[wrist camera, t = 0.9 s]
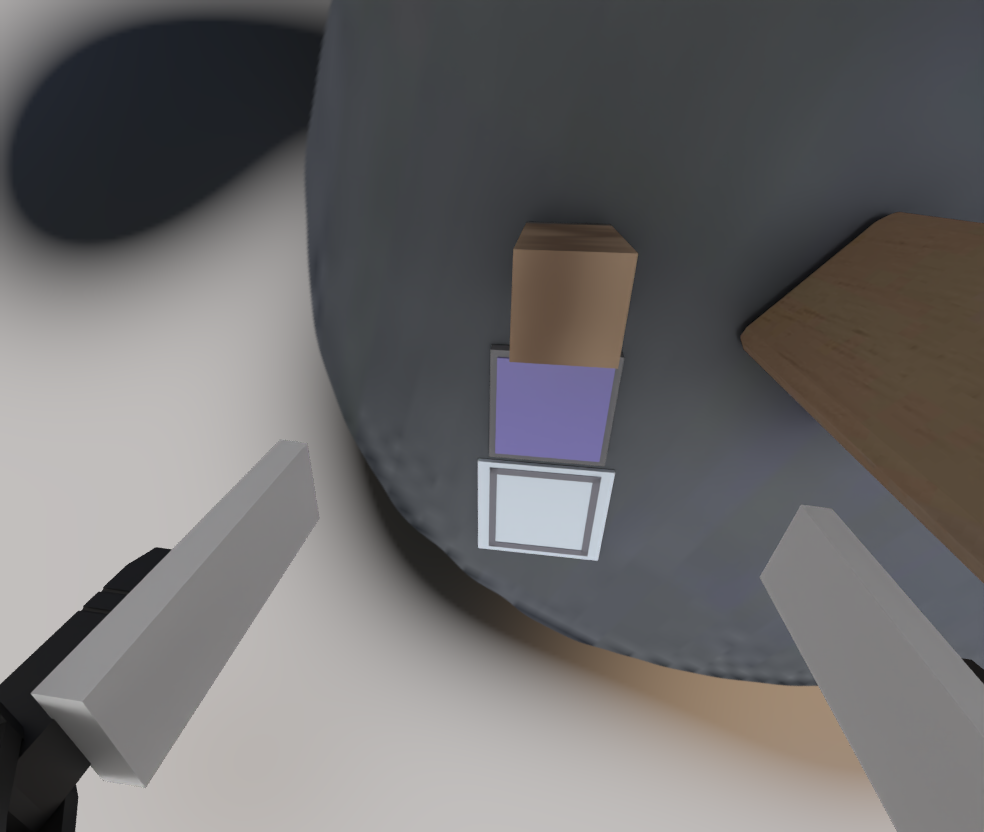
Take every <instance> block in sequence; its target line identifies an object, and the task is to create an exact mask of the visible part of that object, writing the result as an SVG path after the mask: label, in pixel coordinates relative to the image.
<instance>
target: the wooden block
mask: <svg viewBox="0 0 984 832" xmlns="http://www.w3.org/2000/svg"><path fill="white" fill-rule="evenodd" d="M740 337H741V342H742V345H743V349H744V350H745V351H746V352H747V353H748V354H749V355H750V356H751V357H752V358H753V359H754V360H755V361H756V362H757V363H758V364H759V365H760V366H761V367H762V368H763V369H764V370H765V371H766V372H767V373H768V374H769V375H770V376H771V377H772V378H773V379H774V380H775V381H776V382H777V383H779V384H780V385H781V386H782V387H783V388H784V389H785V390H786V391H787V392H788V393H789V394H790V395H791V396H792V397H793V398H794V399H795V400H796V401H797V402H798V403H799V404H800V405H801V406H802V407H803V408H804V409H805V410H806V411H807V412H808V413H809V414H810V415H811V416H812V417H813V418H814V419H815V420H816V421H817V422H818V423H819V424H820V425H821V426H822V427H823V428H824V429H826V430H827V431H828V432H829V433H830V434H831V435H832V436H833V437H834V438H835V439H836V440H837V441H838V442H839V443H840V444H841V445H842V446H843V447H844V448H845V449H846V450H847V451H848V452H849V453H850V454H851V455H852V456H853V457H854V458H855V459H856V460H857V461H858V462H859V463H860V464H861V465H863V466H864V467H865V468H866V469H867V470H868V471H869V472H870V473H871V474H872V475H873V476H874V477H875V478H876V479H877V480H878V481H879V482H880V483H881V484H882V485H883V486H884V487H885V488H886V489H887V490H888V491H889V492H890V493H891V494H892V495H893V496H894V497H895V498H896V499H897V500H898V501H899V502H901V503H902V504H903V505H904V506H905V507H906V508H907V509H908V510H909V511H910V512H911V513H912V514H913V515H914V516H915V517H916V518H917V519H918V520H919V521H920V522H921V523H922V524H923V525H924V526H925V527H926V528H927V529H928V530H929V531H930V532H931V533H932V534H933V535H934V536H935V537H936V538H938V539H939V540H940V541H941V542H942V543H943V544H944V545H945V546H946V547H947V548H948V549H949V550H950V551H951V552H952V553H953V554H954V555H955V556H956V557H957V558H958V559H959V560H960V561H961V562H962V563H963V564H964V565H965V566H966V567H967V568H968V569H969V570H970V571H971V572H972V573H973V574H975V575H976V576H977V577H978V578H979V579H980V580H981V581H982V582H983V583H984V223H977V222H970V221H962V220H955V219H947V218H940V217H932V216H925V215H918V214H910V213H903V212H896V213H893V214H890V215H888V216H886V217H884V218H882V219H880V220H878V221H876V222H875V223H873V224H872V225H871V226H870V227H869V228H867V229H866V230H865V231H864V232H862V233H861V234H860V235H859V236H858V237H856V238H855V239H854V240H853V241H851V242H850V243H849V244H848V245H846V246H845V247H844V248H843V249H842V250H840V251H839V252H838V253H837V254H835V255H834V256H833V257H832V258H831V259H829V260H828V261H827V262H826V263H824V264H823V265H822V266H821V267H820V268H818V269H817V270H816V271H815V272H813V273H812V274H811V275H810V276H809V277H807V278H806V279H805V280H804V281H802V282H801V283H800V284H799V285H798V286H796V287H795V288H794V289H793V290H791V291H790V292H789V293H788V294H787V295H785V296H784V297H783V298H782V299H780V300H779V301H778V302H777V303H776V304H774V305H773V306H772V307H771V308H769V309H768V310H767V311H766V312H765V313H763V314H762V315H761V316H760V317H758V318H757V319H756V320H755V321H754V322H752V323H751V324H750V325H749V326H747V327H746V329H745V330H744V331H743V333H742V334H741V336H740Z"/></svg>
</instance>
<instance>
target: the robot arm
mask: <svg viewBox="0 0 984 832" xmlns="http://www.w3.org/2000/svg"><path fill="white" fill-rule="evenodd" d="M318 520H319V512H318V506H317V500H316V494H315V487H314V481H313V475H312V469H311V462H310V456H309V450H308V443H304V442H295V441H288V440H279V441H278V442H277V443H276V444H275V445H274V446H273V447H272V448H271V449H270V450H269V452H267V453H266V455H265V456H264V457H263V458H262V459H261V460H260V461H259V462H258V463H257V464H256V465H255V466H254V467H253V468H252V469H251V470H250V471H249V472H248V473H247V474H246V475H245V476H244V477H243V478H242V479H241V480H240V481H239V482H238V483H237V484H236V485H235V486H234V487H233V488H232V489H231V490H230V491H229V492H228V493H227V494H226V495H225V496H224V497H223V498H222V499H221V500H220V501H219V502H218V503H217V504H216V506H214V507H213V508H212V509H211V510H210V511H209V512H208V513H207V514H206V516H205V517H204V518H203V519H202V520H201V521H200V522H199V523H198V524H197V525H196V526H195V527H194V528H193V529H192V530H191V531H190V532H189V533H188V534H187V535H186V536H185V537H184V538H183V539H182V540H181V541H180V542H179V543H178V544H177V545H176V546H175V547H174V548H173V549H164V548H154V549H152V550H151V551H150V552H147V553H146V554H145V555H143V556H141V557H139V558H138V559H136V560H134V561H133V562H131V563H129V564H128V565H126V566H125V567H124V568H123V569H122V570H121V571H120V572H119V573H118V574H117V575H116V576H115V577H114V578H113V579H112V580H110V581H109V582H108V583H107V584H106V585H105V586H104V587H103V590H102V592H98V593H97V594H96V595H95V596H93V597H92V598H91V599H90V600H89V601H88V602H87V603H86V604H85V605H84V606H83V610H81V611H78V612H76V614H74V615H73V616H72V617H71V618H70V619H69V620H68V621H67V622H66V623H65V624H64V625H63V626H62V627H61V628H60V629H59V630H57V631H56V632H55V633H54V634H53V635H52V636H51V637H50V638H49V639H48V640H47V641H46V642H45V643H44V644H43V645H42V646H40V647H39V648H38V649H37V650H36V651H35V652H34V653H33V654H32V655H31V656H30V657H29V658H28V659H27V660H26V661H25V662H23V664H21V665H20V666H19V667H18V668H17V669H16V670H15V671H14V672H13V673H12V674H11V675H10V676H9V677H8V678H7V679H5V680H4V681H3V682H2V683H1V684H0V832H75V827H76V826H75V825H76V816H77V805H78V793H77V788H76V783H77V782H78V781H79V779H80V778H81V776H82V775H83V774H84V773H85V771H86V770H87V769H88V767H89V766H91V767H92V768H93V769H94V770H95V772H96V773H97V774H98V775H99V776H100V778H101V779H102V780H103V781H107V782H113V783H119V784H125V785H131V786H137V787H143V788H146V787H147V785H148V783H149V782H150V780H151V779H152V777H153V776H154V774H155V773H156V771H157V770H158V768H159V766H160V765H161V763H162V762H163V760H164V759H165V757H166V756H167V754H168V752H169V751H170V749H171V748H172V746H173V745H174V743H175V742H176V740H177V738H178V737H179V735H180V734H181V732H182V731H183V729H184V728H185V726H186V725H187V723H188V721H189V720H190V718H191V717H192V715H193V714H194V712H195V711H196V709H197V708H198V706H199V704H200V703H201V701H202V700H203V698H204V697H205V695H206V694H207V692H208V690H209V689H210V687H211V686H212V684H213V683H214V681H215V679H216V678H217V677H218V675H219V673H220V672H221V670H222V669H223V667H224V666H225V664H226V662H227V661H228V659H229V658H230V656H231V655H232V653H233V652H234V650H235V649H236V647H237V646H238V644H239V642H240V641H241V639H242V638H243V636H244V635H245V633H246V632H247V630H248V628H249V627H250V625H251V624H252V622H253V621H254V619H255V617H256V616H257V614H258V613H259V611H260V610H261V608H262V607H263V605H264V604H265V602H266V601H267V599H268V597H269V596H270V594H271V593H272V591H273V590H274V588H275V587H276V585H277V583H278V582H279V580H280V579H281V577H282V576H283V574H284V573H285V571H286V570H287V568H288V566H289V565H290V563H291V562H292V560H293V559H294V557H295V556H296V554H297V552H298V551H299V549H300V548H301V546H302V545H303V543H304V542H305V540H306V538H307V537H308V535H309V534H310V532H311V531H312V529H313V528H314V526H315V524H316V522H317V521H318ZM760 579H761V580H762V582H763V584H764V586H765V588H766V590H767V592H768V593H769V595H770V597H771V599H772V601H773V603H774V605H775V606H776V608H777V610H778V612H779V614H780V616H781V617H782V619H783V621H784V623H785V625H786V627H787V629H788V630H789V632H790V634H791V636H792V638H793V640H794V642H795V643H796V645H797V647H798V649H799V651H800V653H801V655H802V656H803V658H804V660H805V662H806V664H807V666H808V668H809V669H810V671H811V673H812V675H813V677H814V679H815V680H816V682H817V684H818V686H819V688H820V690H821V692H822V693H823V695H824V697H825V699H826V701H827V703H828V705H829V706H830V708H831V710H832V712H833V714H834V716H835V717H836V719H837V721H838V723H839V725H840V727H841V729H842V730H843V732H844V734H845V736H846V738H847V740H848V741H849V743H850V745H851V747H852V749H853V751H854V753H855V755H856V756H857V758H858V760H859V762H860V764H861V766H862V768H863V769H864V771H865V773H866V775H867V777H868V779H869V780H870V782H871V784H872V786H873V788H874V790H875V792H876V793H877V795H878V797H879V799H880V801H881V803H882V804H883V806H884V808H885V810H886V812H887V814H888V816H889V817H890V819H891V821H892V823H893V825H894V827H895V829H896V830H897V832H984V670H983V669H982V668H981V667H980V666H979V665H977V664H976V663H975V662H974V661H972V660H969V659H962V658H961V657H960V656H959V655H958V654H957V653H956V652H955V650H954V649H953V648H952V647H951V646H950V645H949V644H948V642H947V641H946V640H945V639H944V638H943V637H942V635H941V634H940V633H939V632H938V631H937V630H936V628H935V627H934V626H933V625H932V624H931V623H930V622H929V620H928V619H927V618H926V617H925V616H924V615H923V613H922V612H921V611H920V610H919V609H918V608H917V607H916V605H915V604H914V603H913V602H912V601H911V600H910V598H909V597H908V596H907V595H906V594H905V593H904V591H903V590H902V589H901V588H900V587H899V586H898V585H897V583H896V582H895V581H894V580H893V579H892V578H891V576H890V575H889V574H888V573H887V572H886V571H885V570H884V568H883V567H882V566H881V565H880V564H879V563H878V561H877V560H876V559H875V558H874V557H873V556H872V555H871V553H870V552H869V551H868V550H867V549H866V548H865V546H864V545H863V544H862V543H861V542H860V541H859V539H858V538H857V537H856V536H855V535H854V534H853V533H852V531H851V530H850V529H849V528H848V527H847V526H846V524H845V523H844V522H843V521H842V520H841V519H840V518H839V516H838V515H837V514H836V513H835V512H834V511H833V509H831V508H823V507H815V506H807V505H801V506H800V508H799V509H798V511H797V513H796V515H795V516H794V518H793V520H792V522H791V523H790V525H789V527H788V529H787V530H786V532H785V534H784V536H783V537H782V539H781V541H780V543H779V544H778V546H777V548H776V550H775V551H774V553H773V555H772V557H771V558H770V560H769V562H768V564H767V565H766V567H765V569H764V571H763V572H762V574H761V576H760Z"/></svg>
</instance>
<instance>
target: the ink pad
mask: <svg viewBox="0 0 984 832" xmlns="http://www.w3.org/2000/svg"><path fill="white" fill-rule="evenodd" d="M509 354H510V345H493V344H492V347H491V350H490V427H489V457H501V458H513V459H524V460H536V461H548V462H560V463H571V464H583V465H595V466H605V462H606V457H607V451H608V446H609V440H610V435H611V429H612V424H613V418H614V413H615V407H616V402H617V396H618V391H619V385H620V379H621V374H622V368H623V363H624V355H623V352H621V355H620V361H619V366H618V369H614V368H598V367H582V366H566V365H549V364H533V363H517V362H509Z"/></svg>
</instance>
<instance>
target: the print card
mask: <svg viewBox="0 0 984 832" xmlns="http://www.w3.org/2000/svg"><path fill="white" fill-rule="evenodd" d="M614 476H615V470H609V469H597V468H585V467H574V466H562V465H550V464H539V463H527V462H515V461H504V460H492V459H480V458H479V459H478V548H484V549H493V550H503V551H512V552H521V553H531V554H540V555H550V556H559V557H568V558H578V559H587V560H596V561H598V557H599V552H600V547H601V542H602V537H603V532H604V526H605V521H606V516H607V511H608V506H609V501H610V496H611V491H612V486H613V481H614Z"/></svg>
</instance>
